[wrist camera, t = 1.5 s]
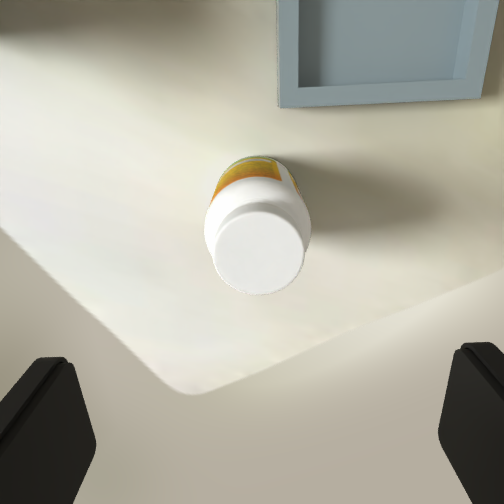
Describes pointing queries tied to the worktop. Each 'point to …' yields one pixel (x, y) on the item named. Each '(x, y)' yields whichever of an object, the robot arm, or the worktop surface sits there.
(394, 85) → the tray
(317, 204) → the worktop surface
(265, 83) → the worktop surface
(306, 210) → the supplement bottle
